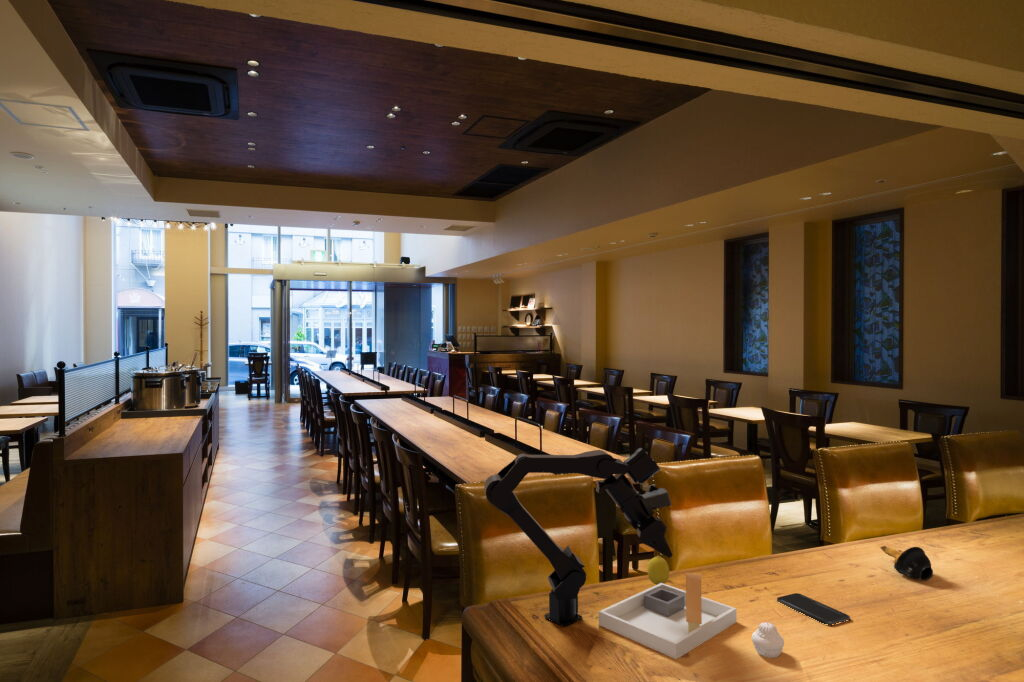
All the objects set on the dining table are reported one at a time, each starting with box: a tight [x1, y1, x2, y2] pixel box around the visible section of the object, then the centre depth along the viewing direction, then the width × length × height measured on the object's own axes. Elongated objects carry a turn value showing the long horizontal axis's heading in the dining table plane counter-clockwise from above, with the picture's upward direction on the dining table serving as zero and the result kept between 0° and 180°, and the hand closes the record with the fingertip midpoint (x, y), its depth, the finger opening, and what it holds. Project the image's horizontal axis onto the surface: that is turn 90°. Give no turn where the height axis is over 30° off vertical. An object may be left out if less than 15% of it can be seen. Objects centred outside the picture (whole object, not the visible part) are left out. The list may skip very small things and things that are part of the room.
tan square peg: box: [685, 572, 702, 633], centre depth 131 cm, size 3×3×12 cm
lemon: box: [647, 555, 670, 585], centre depth 158 cm, size 6×6×8 cm
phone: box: [776, 592, 851, 625], centre depth 144 cm, size 8×1×15 cm
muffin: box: [751, 621, 785, 659], centre depth 122 cm, size 6×6×7 cm
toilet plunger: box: [879, 545, 934, 581], centre depth 168 cm, size 9×11×18 cm
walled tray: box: [598, 583, 738, 660], centre depth 135 cm, size 24×20×4 cm
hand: (665, 550), depth 142 cm, fingers open, 9 cm apart
